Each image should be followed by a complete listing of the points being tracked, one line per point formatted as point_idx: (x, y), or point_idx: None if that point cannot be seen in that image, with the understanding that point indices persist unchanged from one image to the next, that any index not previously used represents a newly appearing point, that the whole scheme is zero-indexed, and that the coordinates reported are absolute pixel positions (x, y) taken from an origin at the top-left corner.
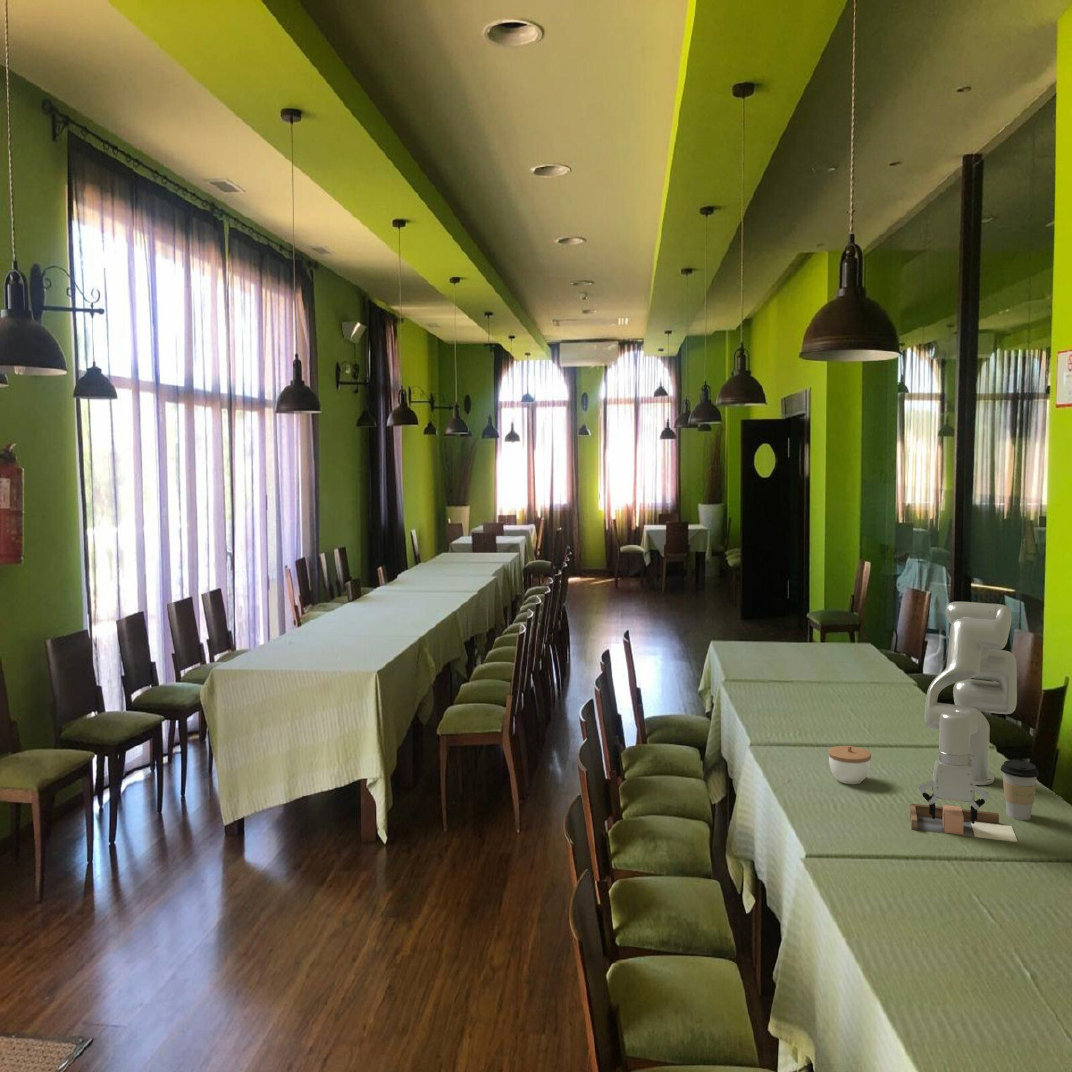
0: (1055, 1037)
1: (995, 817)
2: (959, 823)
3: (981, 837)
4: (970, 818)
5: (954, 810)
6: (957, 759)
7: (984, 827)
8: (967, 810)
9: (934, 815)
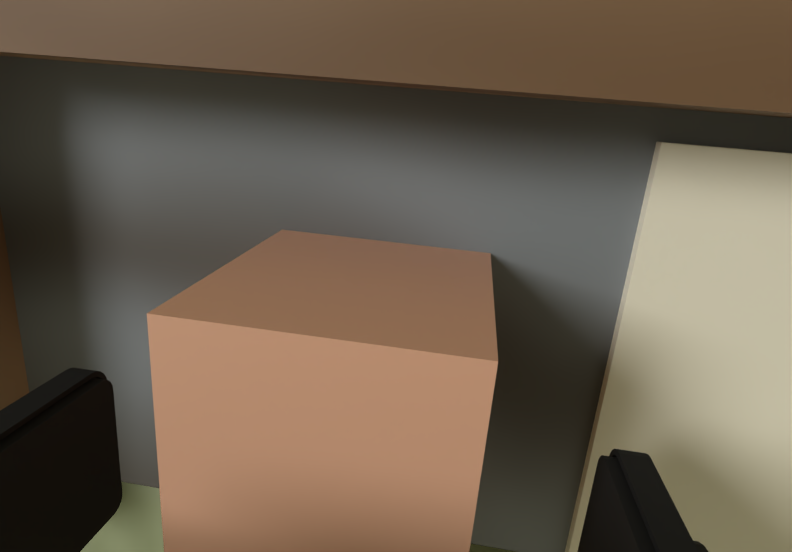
0: None
1: None
2: None
3: None
4: (600, 484)
5: (333, 549)
6: None
7: (782, 338)
8: (688, 44)
9: (82, 535)
